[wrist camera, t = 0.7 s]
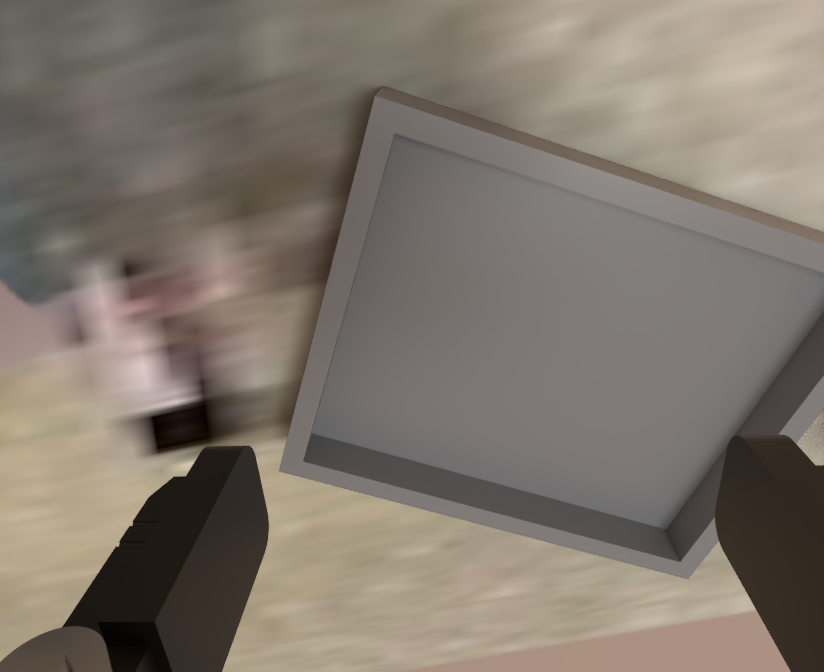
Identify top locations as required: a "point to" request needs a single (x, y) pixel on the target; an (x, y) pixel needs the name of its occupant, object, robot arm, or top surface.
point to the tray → (551, 339)
